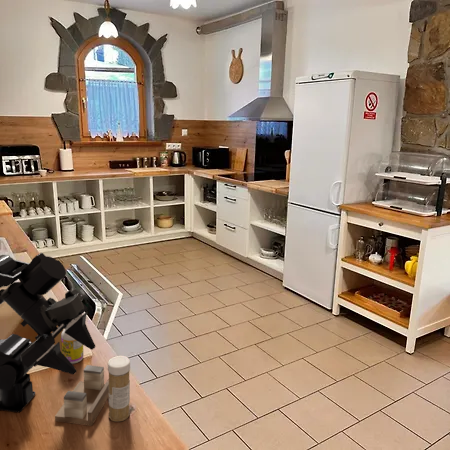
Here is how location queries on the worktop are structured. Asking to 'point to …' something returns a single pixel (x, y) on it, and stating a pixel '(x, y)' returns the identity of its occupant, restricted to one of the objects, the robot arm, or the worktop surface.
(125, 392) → the sprinkles bottle
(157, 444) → the worktop surface
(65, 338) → the supplement bottle
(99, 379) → the walnut spice rack
